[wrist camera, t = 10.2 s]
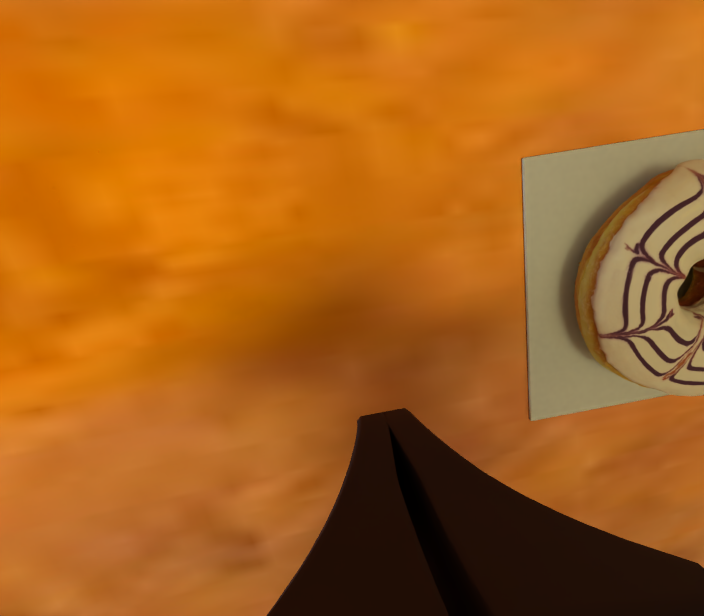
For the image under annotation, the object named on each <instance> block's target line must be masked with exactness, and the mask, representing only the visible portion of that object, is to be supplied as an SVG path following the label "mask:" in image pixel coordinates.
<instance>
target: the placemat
mask: <svg viewBox="0 0 704 616" xmlns="http://www.w3.org/2000/svg"><path fill="white" fill-rule="evenodd" d="M697 159H703V160H704V129H702V130H696V131H689V132H683V133H677V134H671V135H664V136H658V137H652V138H646V139H639V140H633V141H627V142H620V143H614V144H608V145H602V146H595V147H589V148H583V149H576V150H570V151H564V152H558V153H551V154H545V155H539V156H533V157H526V158H522V180H523V215H524V249H525V284H526V318H527V353H528V387H529V419H530V420H531V421H534V420H540V419H545V418H550V417H555V416H561V415H566V414H571V413H576V412H582V411H587V410H592V409H597V408H602V407H608V406H613V405H618V404H623V403H629V402H634V401H639V400H644V399H650V398H655V397H660V396H665V395H671V394H667V393H665V392H662V391H659V390H656V389H653V388H646V387H642V386H639V385H638V384H636V383H633V382H630V381H628V380H625V379H623V378H622V377H620V376H618V375H617V374H615V373H613V372H611V371H609V370H607V369H606V368H604V367H603V366H602V365H600V364H599V363H598V362H597V361H596V360H595V359H594V357H593V356H592V355H591V353H590V351H589V350H588V347H587V345H586V343H585V341H584V338H583V336H582V334H581V332H580V329H579V325H578V322H577V317H576V309H575V305H574V304H575V302H574V301H575V299H574V293H575V292H574V291H575V281H576V277H577V273H578V266H579V265H580V264H579V262H581V260H582V257H583V254H584V252H585V249H586V247H587V245H588V244H589V242H590V240H591V239H592V238H593V236H595V234H596V233H597V232H598V230H599V229H600V227H601V226H602V225H603V224H604V223H605V221H606V220H607V219H608V218H609V217H610V216H611V215H612V213H613V212H614V211H615V210H616V209H617V208H618V207H619V206H620V205H622V204H623V202H625V201H626V200H627V199H628V198H630V197H631V196H632V195H633V194H634V193H636V192H637V191H638V190H639V189H640V188H642V187H643V186H644V185H645V184H647V183H648V182H649V181H650V180H651V179H652V178H654V177H655V176H657V175H658V174H661V173H664V172H666V171H669V170H672V169H675V167H676V166H677V165H678V164H679V163H682V162H685V161H689V160H697ZM693 272H694V270H693V267H691V268H690V270H689V272H688V275H687V277H686V279H685V280H684V282H683V283H682V285H681V286H680V287H679V289H678V292H677V296H678V300H679V299H680V298H681V297H682V296H683V295H684V294H685V293H686V292H687V290H688V289H689V287H690V284H691V283H692V278H693Z"/></svg>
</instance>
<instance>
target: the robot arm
mask: <svg viewBox="0 0 704 616" xmlns="http://www.w3.org/2000/svg"><path fill="white" fill-rule="evenodd" d="M267 616H704V568H703V567H702V566H700V565H699V564H698V563H695V562H692V561H689V560H686V559H683V558H680V557H677V556H674V555H671V554H668V553H665V552H662V551H659V550H656V549H653V548H650V547H647V546H644V545H641V544H637V543H634V542H631V541H628V540H625V539H623V538H620V537H617V536H615V535H612V534H610V533H607V532H605V531H602V530H600V529H597V528H595V527H592V526H589V525H587V524H584V523H582V522H580V521H577V520H575V519H573V518H570V517H568V516H566V515H563V514H561V513H559V512H557V511H555V510H553V509H551V508H549V507H547V506H544V505H542V504H540V503H538V502H536V501H534V500H532V499H530V498H528V497H526V496H524V495H522V494H520V493H519V492H517V491H515V490H513V489H511V488H510V487H508V486H506V485H504V484H503V483H501V482H499V481H498V480H496V479H494V478H493V477H491V476H489V475H488V474H486V473H484V472H483V471H481V470H480V469H478V468H477V467H476V466H474V465H473V464H471V463H470V462H469V461H467V460H466V459H464V458H463V457H462V456H460V455H459V454H458V453H456V452H455V451H454V450H453V449H451V448H450V447H449V446H448V445H446V444H445V443H444V442H443V441H441V440H440V439H439V438H438V437H437V436H435V435H434V434H433V433H432V432H431V431H430V430H429V429H427V428H426V427H425V426H424V425H423V424H422V423H421V422H420V421H419V420H418V419H417V418H416V417H415V416H414V415H413V414H412V413H411V412H410V411H408V410H407V409H405V408H402V409H397V410H392V411H386V412H381V413H376V414H370V415H365V416H361V417H360V418H359V419H358V420H357V435H356V441H355V446H354V450H353V453H352V457H351V461H350V464H349V468H348V471H347V473H346V476H345V479H344V482H343V484H342V487H341V490H340V492H339V495H338V497H337V500H336V502H335V504H334V506H333V509H332V511H331V513H330V515H329V517H328V519H327V521H326V523H325V525H324V527H323V529H322V531H321V533H320V534H319V536H318V538H317V540H316V542H315V543H314V545H313V547H312V549H311V551H310V552H309V554H308V556H307V557H306V559H305V561H304V562H303V564H302V565H301V567H300V568H299V570H298V571H297V573H296V574H295V576H294V577H293V579H292V580H291V582H290V583H289V585H288V586H287V588H286V589H285V590H284V592H283V593H282V595H281V596H280V598H279V599H278V601H277V602H276V604H275V605H274V606H273V608H272V609H271V610H270V612H269V613H268V614H267Z"/></svg>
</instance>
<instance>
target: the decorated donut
mask: <svg viewBox="0 0 704 616" xmlns="http://www.w3.org/2000/svg"><path fill="white" fill-rule="evenodd" d="M579 264H580V265H579V266H578V273H577V277H576V281H575V291H574V292H575V293H574V299H575V301H574V302H575V304H574V305H575V309H576V317H577V322H578V325H579V329H580V332H581V334H582V336H583V338H584V341H585V343H586V345H587V347H588V350H589V351H590V353H591V355H592V356H593V357H594V359H595V360H596V361H597V362H598V363H599V364H600V365H602V366H603V367H604V368H606V369H607V370H609V371H611V372H613V373H615V374H617V375H618V376H620V377H622V378H623V379H625V380H628V381H630V382H633V383H636V384H638V385H639V386H642V387H646V388H653V389H656V390H659V391H662V392H665V393H667V394H671V395H677V396H702V395H704V160H703V159H697V160H689V161H685V162H682V163H679V164H678V165H677V166H676V167H675V169H672V170H669V171H666V172H664V173H661V174H658V175H657V176H655V177H654V178H652V179H651V180H650V181H649V182H648V183H647V184H645V185H644V186H643V187H642V188H640V189H639V190H638V191H637V192H636V193H634V194H633V195H632V196H631V197H630V198H628V199H627V200H626V201H625V202H623V204H622V205H620V206H619V207H618V208H617V209H616V210H615V211H614V212H613V213H612V215H611V216H610V217H609V218H608V219H607V220H606V221H605V223H604V224H603V225H602V226H601V227H600V229H599V230H598V232H597V233H596V234H595V236H593V238H592V239H591V240H590V242H589V244H588V245H587V247H586V249H585V252H584V254H583V257H582V260H581V262H579ZM691 267H693V270H694V272H693V278H692V283H691V284H690V287H689V289H688V290H687V292H686V293H685V294H684V295H683V296H682V297H681V298H680V299H679V300H678V296H677V292H678V289H679V287H680V286H681V285H682V283H683V282H684V280H685V279H686V277H687V275H688V272H689V270H690V268H691Z"/></svg>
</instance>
